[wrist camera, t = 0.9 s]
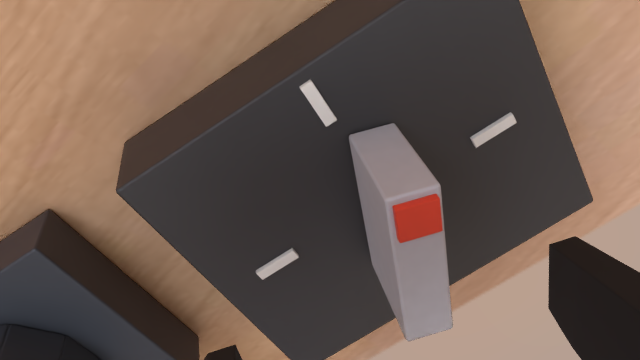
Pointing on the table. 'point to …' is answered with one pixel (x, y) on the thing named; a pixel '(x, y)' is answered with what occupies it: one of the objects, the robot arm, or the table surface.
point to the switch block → (78, 303)
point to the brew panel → (337, 163)
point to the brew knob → (404, 229)
